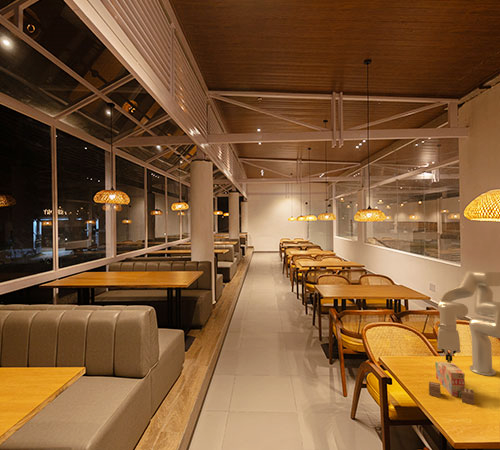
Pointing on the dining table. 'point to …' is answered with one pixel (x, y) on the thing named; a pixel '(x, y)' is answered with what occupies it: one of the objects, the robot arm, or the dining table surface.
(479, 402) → the dining table surface
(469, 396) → the walnut cube two
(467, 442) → the dining table surface
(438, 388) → the walnut cube one
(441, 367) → the stack of blocks
